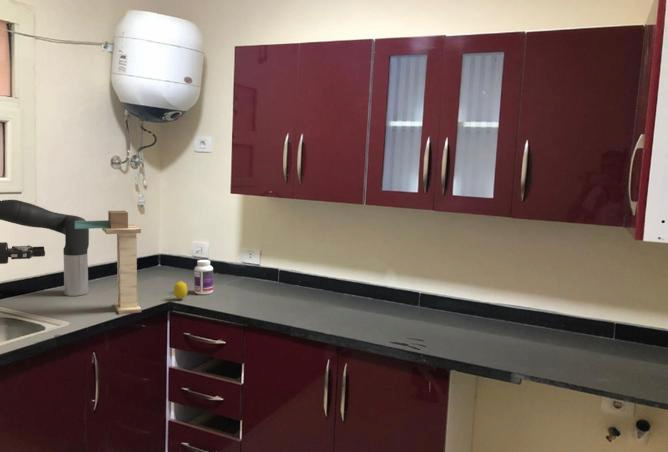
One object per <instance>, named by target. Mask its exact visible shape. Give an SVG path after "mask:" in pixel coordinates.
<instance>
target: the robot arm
mask: <svg viewBox="0 0 668 452" xmlns="http://www.w3.org/2000/svg"><path fill="white" fill-rule="evenodd" d="M0 221H4V222H8V223H12V224H16V225H20V226H24V227H29V228H30V227H31V228H39V229H47V230H51V231H54V232H57V233H60V234H63V235H64V236H65V237H64V238H65V240H64V241H65V243H64V244H65V245H64V247H63V251H62V252H63V253H62V254H63V278H64V279H63V283H64V284H63V287H64V289H63V290H64V292H63V293H64V295H65V296H69V297H73V296H74V297H77V296H85V295H87V294H88V293H89V268H88V266H89V264H88V260H89V259H88V257H89V256H88V249H89V245H90V229H75V221H87V220H86V219H84V218H83V217H80V216H79V215H74V214H65V213H58V212H55V211H50V210H48V209H46V208H44V207H42V206H38V205H36V204H33V203H29V202H27V201H26V202H25V201H22V200H18V199H2V201H1V200H0ZM45 255H46V250H45V247H44V245H43V246H32V245H18V246H17V245H15V246H14V245H13V246H11V247H10V248H9V243H8V242H6V241H5V242H0V265H3V264H4V265H5V264H8V263H9V258H10V259H11V260H27V259H28V260H29V259H31V258H39V257H45Z"/></svg>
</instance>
